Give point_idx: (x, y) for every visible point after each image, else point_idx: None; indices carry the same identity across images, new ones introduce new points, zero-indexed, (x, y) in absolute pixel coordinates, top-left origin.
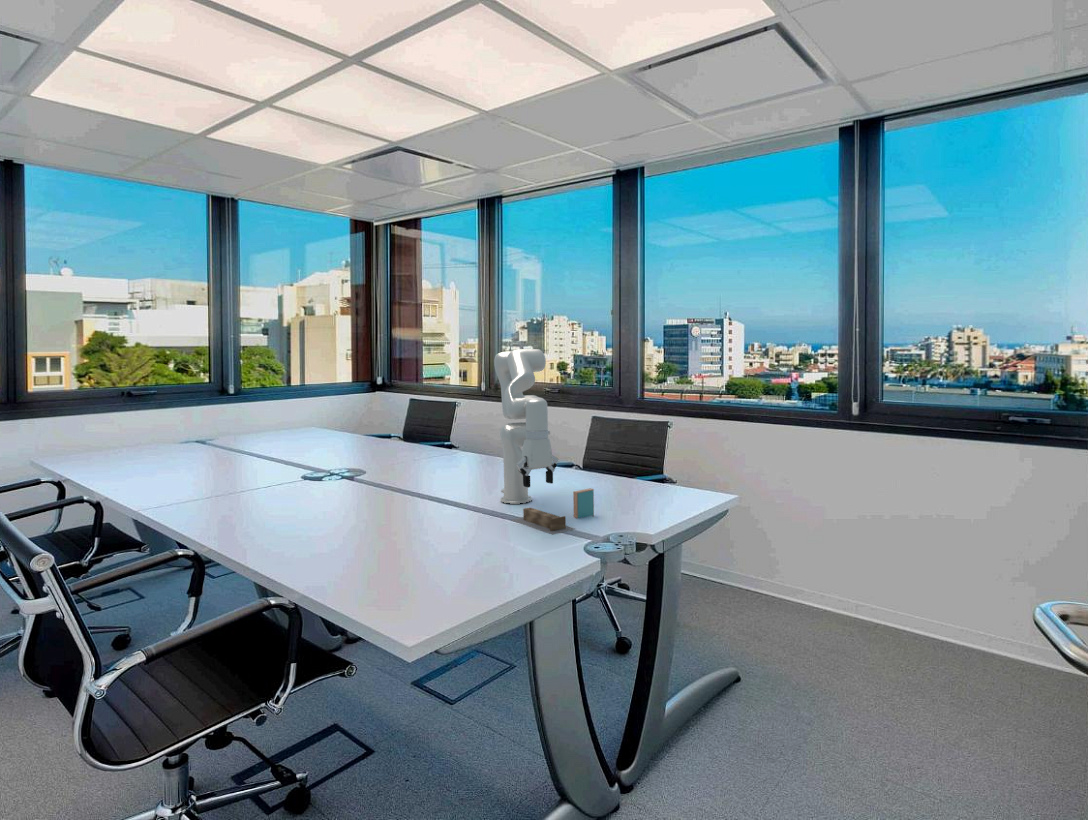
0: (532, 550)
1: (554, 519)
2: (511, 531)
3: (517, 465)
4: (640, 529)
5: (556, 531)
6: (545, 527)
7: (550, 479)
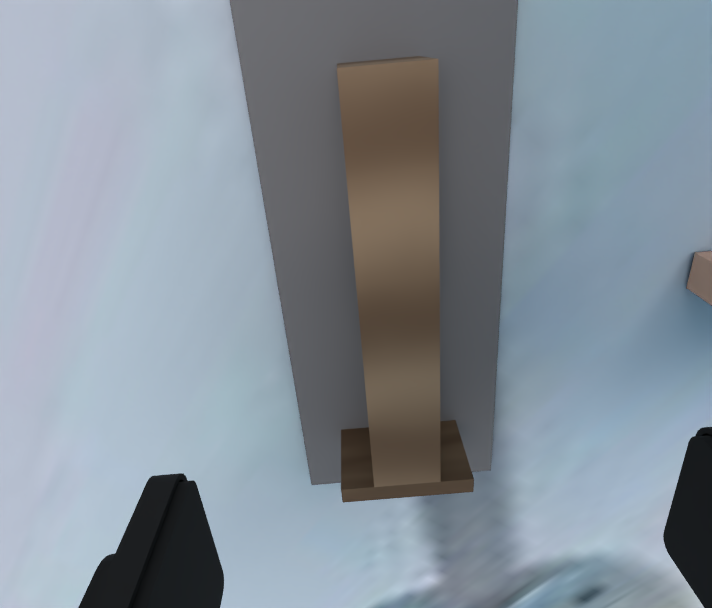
0: None
1: (370, 497)
2: (131, 250)
3: None
4: None
5: None
6: (360, 358)
7: (708, 593)
